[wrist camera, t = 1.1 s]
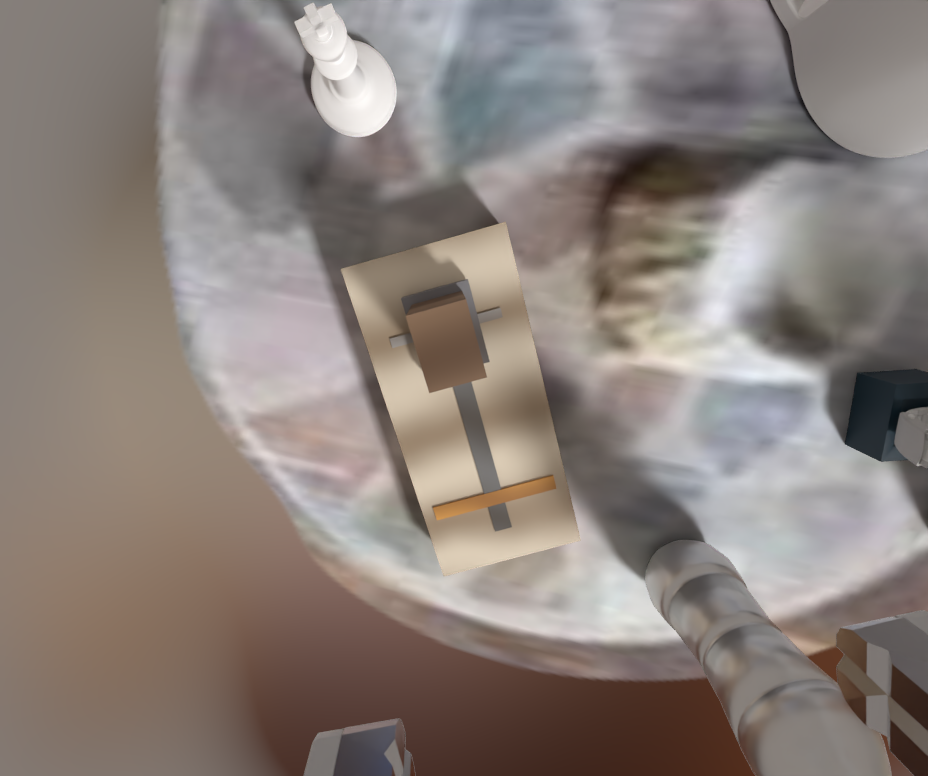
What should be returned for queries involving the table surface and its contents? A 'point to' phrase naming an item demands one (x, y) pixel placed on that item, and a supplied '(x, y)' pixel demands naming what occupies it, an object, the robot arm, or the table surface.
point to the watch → (890, 416)
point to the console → (469, 406)
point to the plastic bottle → (759, 671)
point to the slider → (447, 335)
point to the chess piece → (346, 75)
